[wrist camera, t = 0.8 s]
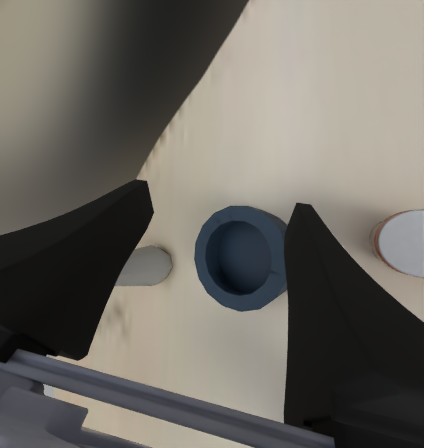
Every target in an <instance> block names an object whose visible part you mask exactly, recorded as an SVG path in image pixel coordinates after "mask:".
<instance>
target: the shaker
mask: <svg viewBox="0 0 424 448" xmlns="http://www.w3.org/2000/svg"><path fill="white" fill-rule="evenodd" d="M369 243H370V247H371V249H372V251H373V252H374V254H375V255H376V256H377V257H378V258H380V259H381V260H382V261H383V262H384V263H386V264H387V265H388V266H389V267H391V268H392V269H394V270H396V271H398V272H401V273H404V274H407V275H410V276H414V277H421V278H424V210H410V211H404V212H400V213H397V214H395V215H393V216H391V217H389V218H387V219H385V220H384V221H382V222H380V223H379V224H377V225H376V226H375V227H374V228H373V230H372V231H371V234H370V237H369Z"/></svg>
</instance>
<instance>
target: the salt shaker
mask: <svg viewBox="0 0 424 448" xmlns="http://www.w3.org/2000/svg"><path fill="white" fill-rule="evenodd" d="M171 269H172V263H171V258H170V255H169V254H167V253H166V252H164V251H163V250H161V249H160V248H158V247H155V246H151V245H149V246H145V247H142V248H138V249H134V251H133V252H132V254H131V256H130V257H129V259H128V261H127V262H126V264H125V266H124V267H123V269H122V271H121V273H120V275H119V277H118V279H117V282H116V284H115V286H152V285H156V284H159V283H160V282H161V281H163V280H164V279H165V278H166V277H167V276H168V274H169V272H170V270H171Z"/></svg>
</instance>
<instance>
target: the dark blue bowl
mask: <svg viewBox="0 0 424 448" xmlns="http://www.w3.org/2000/svg"><path fill="white" fill-rule="evenodd" d="M286 229H287V225H286V224H285V223H284V222H283V221H282V220H281V219H280V218H278V217H276V216H274V215H272V214H270V213H267V212H265V211H263V210H260V209H256V208H253V207H249V206H229V207H227V208H225V209H223V210H220V211H218V212H216V213H214V214H213V215H212V216H211V217H210V218H209V219H208V220H207V221H206V223H205V224H204V225H203V226H202V228H201V231H200V233H199V235H198V238H197V240H196V244H195V257H194V260H195V264H196V269H197V273H198V277H199V280H200V281H201V283H202V285H203V286H204V288H205V290H206V291H207V293H208V294H209V295H210V296H211V297H213V298H214V299H215V300H216V301H217V302H219V303H220V304H221V305H223V306H225V307H228V308H231V309H234V310H237V311H241V312H242V311H250V310H258V309H261V308H262V307H264V306H265V305H267V304H268V303H270V302H271V301H272V300H274V299H275V298H277V297H278V296H279V295H280V294H282V293H283V292H284V291H286V290H287V281H286V271H285V260H284V235H285V232H286Z"/></svg>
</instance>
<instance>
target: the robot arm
mask: <svg viewBox="0 0 424 448" xmlns="http://www.w3.org/2000/svg"><path fill="white" fill-rule="evenodd" d="M153 214H154V210H153V206H152V201H151V197H150V192H149V188H148V183H147V181H143V180H133V181H131V182H129V183H127V184H125V185H123V186H121V187H119V188H117V189H115V190H113V191H112V192H109V193H108V194H106V195H104V196H102V197H100V198H98V199H96V200H94V201H92V202H90V203H88V204H86V205H84V206H82V207H79V208H77V209H75V210H73V211H71V212H68V213H66V214H64V215H61V216H58V217H56V218H53V219H51V220H48V221H45V222H42V223H39V224H37V225H33V226H30V227H27V228H24V229H21V230H18V231H15V232H11V233H8V234H4V235H0V448H152V447H149V446H146V445H142V444H139V443H136V442H133V441H129V440H126V439H122V438H119V437H116V436H112V435H109V434H106V433H102V432H99V431H95V430H92V429H89V428H85V427H82V424H83V422H84V420H85V418H86V416H87V413H88V409H87V408H84V407H81V406H78V405H74V404H71V403H68V402H65V401H61V400H58V399H55V398H51V397H48V396H45V395H44V385H43V384H46V385H49V386H52V387H56V388H59V389H62V390H66V391H69V392H72V393H76V394H79V395H82V396H85V397H89V398H92V399H95V400H99V401H102V402H105V403H109V404H112V405H115V406H119V407H122V408H125V409H129V410H132V411H135V412H138V413H142V414H145V415H148V416H152V417H155V418H158V419H162V420H165V421H168V422H172V423H175V424H178V425H182V426H185V427H188V428H192V429H195V430H198V431H201V432H205V433H208V434H211V435H215V436H218V437H221V438H225V439H228V440H231V441H235V442H238V443H241V444H245V445H248V446H251V447H254V448H424V322H423V321H421V320H420V319H419V318H417V317H416V316H415V315H414V314H412V313H411V312H410V311H409V310H408V309H406V308H405V307H404V306H403V305H402V304H400V303H399V302H398V301H397V300H396V299H395V298H393V297H392V296H391V295H390V294H389V293H388V292H386V291H385V290H384V289H383V288H382V287H381V286H380V285H379V284H378V283H377V282H376V281H374V280H373V279H372V278H371V277H370V276H369V275H368V274H367V273H366V272H365V271H364V270H363V269H362V268H361V267H360V266H359V265H358V264H357V262H356V261H355V260H354V259H353V258H352V257H351V256H350V255H349V254H348V252H347V251H346V250H345V249H344V248H343V247H342V245H341V244H340V243H339V242H338V241H337V239H336V238H335V237H334V236H333V234H332V233H331V232H330V230H329V229H328V228H327V226H326V225H325V224H324V222H323V221H322V220H321V218H320V217H319V215H318V214H317V213H316V211H315V210H314V208H313V207H312V206H311V205H310V204H303V203H296V206H295V208H294V211H293V213H292V216H291V219H290V221H289V224H288V226H287V229H286V232H285V235H284V260H285V271H286V281H287V291H288V351H287V373H286V388H285V403H284V424H283V423H280V422H276V421H273V420H269V419H266V418H262V417H258V416H255V415H251V414H248V413H244V412H241V411H237V410H234V409H230V408H227V407H223V406H219V405H216V404H212V403H209V402H205V401H202V400H198V399H195V398H191V397H187V396H184V395H180V394H177V393H173V392H170V391H166V390H163V389H159V388H156V387H152V386H148V385H145V384H141V383H138V382H134V381H131V380H127V379H124V378H120V377H116V376H113V375H109V374H106V373H102V372H99V371H95V370H92V369H88V368H84V367H81V366H77V365H74V364H70V363H67V362H63V361H60V360H56V359H53V358H49V357H46V355H47V354H48V355H51V356H55V357H56V356H58V355H59V356H62V357H66V358H70V359H73V360H77V361H78V360H81V359H82V358H84V357H85V356H87V355H88V352H89V349H90V346H91V343H92V340H93V337H94V335H95V332H96V329H97V326H98V324H99V321H100V319H101V316H102V314H103V311H104V309H105V306H106V304H107V302H108V299H109V297H110V295H111V292H112V290H113V288H114V286H115V284H116V282H117V279H118V277H119V275H120V273H121V271H122V269H123V267H124V266H125V264H126V262H127V261H128V259H129V257H130V256H131V254H132V252H133V251H134V249H135V248H136V246H137V244H138V243H139V241H140V240H141V238H142V236H143V235H144V233H145V231H146V230H147V228H148V225H149V223H150V221H151V219H152V216H153Z"/></svg>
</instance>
